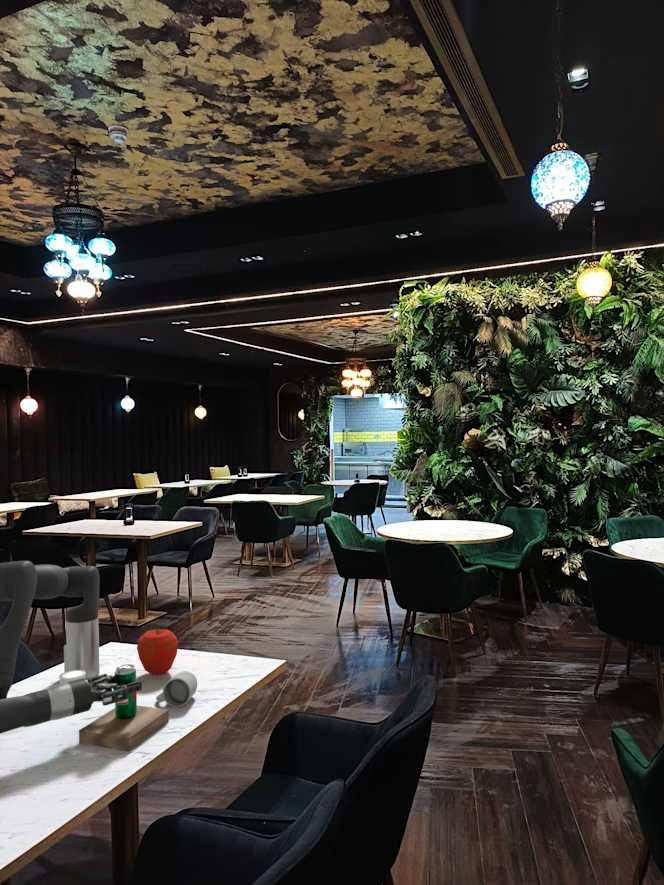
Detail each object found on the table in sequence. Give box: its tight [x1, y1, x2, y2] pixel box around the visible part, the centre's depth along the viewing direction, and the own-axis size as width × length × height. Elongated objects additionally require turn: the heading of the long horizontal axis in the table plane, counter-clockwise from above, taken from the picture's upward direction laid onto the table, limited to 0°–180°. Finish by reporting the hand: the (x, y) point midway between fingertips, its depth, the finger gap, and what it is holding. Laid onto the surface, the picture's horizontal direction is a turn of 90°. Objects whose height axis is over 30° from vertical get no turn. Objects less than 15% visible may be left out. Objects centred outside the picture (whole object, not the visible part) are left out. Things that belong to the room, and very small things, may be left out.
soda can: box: [114, 663, 138, 719], centre depth 157 cm, size 5×5×12 cm
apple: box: [136, 627, 179, 676], centre depth 193 cm, size 12×12×14 cm
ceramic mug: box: [155, 670, 198, 708], centre depth 172 cm, size 11×8×8 cm
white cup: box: [58, 670, 86, 684], centre depth 175 cm, size 7×7×7 cm
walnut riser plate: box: [78, 704, 170, 752], centre depth 154 cm, size 14×16×3 cm
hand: (134, 680), depth 158 cm, fingers open, 7 cm apart
